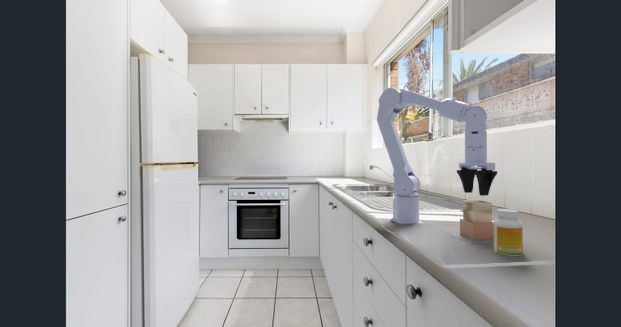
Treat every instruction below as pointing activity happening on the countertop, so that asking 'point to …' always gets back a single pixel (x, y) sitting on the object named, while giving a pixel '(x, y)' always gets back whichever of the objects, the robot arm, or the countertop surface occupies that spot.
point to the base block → (477, 229)
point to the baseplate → (472, 241)
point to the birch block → (477, 211)
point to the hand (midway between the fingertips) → (475, 193)
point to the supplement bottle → (508, 233)
